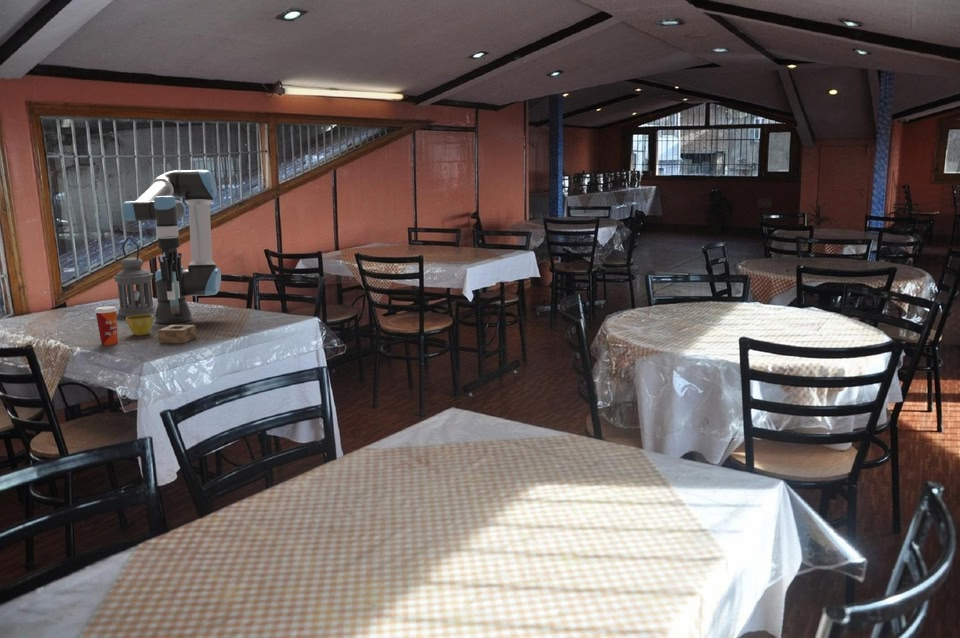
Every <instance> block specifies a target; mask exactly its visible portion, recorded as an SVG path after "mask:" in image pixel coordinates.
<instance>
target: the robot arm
mask: <svg viewBox="0 0 960 638" xmlns="http://www.w3.org/2000/svg"><path fill="white" fill-rule="evenodd" d="M217 196H218V188H217V183H216V179H215V176H214V175H213V172H212V171H210V170H209V169H208V170H207V169H187V170H186V169H185V170H184V169H183V170H182V169H180V170H179V169H176V170H171V171H166V172H165V173H162V174H161V175H159V176H156V178H154V179H153V180H152V181H151V182H150V186H149V187H148V188H147V189H146V190H145V191H144V192H143V193H142V194H141V195H140V196H139V197H138V198H137V199H135V200H130V201H129V200H128V201H124V202H123V203H122V209H121V210H122V216H123V218H124V220H125V221H129V222H142V221H143V222H145V221H146V222H149V221H151V222H152V221H155V223H156V224H155V225H156V229H155V230H156V236H157V237H158V238H157V246H158V249H161V256H158V257H157V259H158V262H159V268H160V269H157V271H155V272H154V273H155V289H156V299H157V307H156V312H155V316H154V320H155V321H154V322H155V323H157V324H177V323H184V322H188V321H191V320H192V319H193V313H192V311H191V309H190V307H189V304H188V302H187V297H197V296H204V297H205V296H206V297H207V296H214V295H217V294H218V292H219V290H220V288H221V284H222V271H221V269H220V268H218V267H217V264H216V263H215V261H214V260H213V249H212V246H213V245H212V230H211V228H212V227H211V207H210V206H211V204H212V203H214V198H216V197H217ZM176 198H178V199H179V198H181V199H183V198H184V202H185V203H186V205H187V206H188V219H189V220H188V221H189V239H190V257H191V258H190V259H191V261H190V262H189V263H188V264H187V269H185V267H184V266H183V265H182V252H178V248H180V244H181V243H180V238H179V225H178V220H180V219H183V217H184V216H185V215H186V213H187V208H186V205H185V204H184V202H182V201H181V200H177V199H176ZM172 271H175V272H176V282H177V293H178V303H179V313H178V314H171V308H170V300H175V290H174V283H172Z"/></svg>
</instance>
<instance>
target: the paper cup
mask: <svg viewBox="0 0 960 638" xmlns="http://www.w3.org/2000/svg"><path fill="white" fill-rule="evenodd" d="M117 311H118V309H117V308H116V306H114V305H113V306H112V305H111V306H110V305H109V306H108V305H107V306H100V307H99V306H98V307H96V308H95V311H94V313H95V316H96V321H97V327H98V332H99V338H100V342H101V345H102V346H113V345H117V344H118V343H119V341H118V319H117V318H118V317H117Z"/></svg>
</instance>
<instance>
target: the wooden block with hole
mask: <svg viewBox="0 0 960 638" xmlns="http://www.w3.org/2000/svg"><path fill="white" fill-rule="evenodd" d="M157 334H158V343H159V344H186V343H187V342H189V341H192V340H194V339H196V338H197V329H196V324H170V325H168V326H165V327H163V328H160V329H158V330H157Z"/></svg>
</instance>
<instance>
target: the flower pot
mask: <svg viewBox="0 0 960 638" xmlns="http://www.w3.org/2000/svg"><path fill="white" fill-rule="evenodd" d="M125 321H126V323H127V325H128V328H129V330H130V331H131V332H132V334H133V335H134V336H146V335H149V333H150V331H151V329H152V325H153V322H154V315H152V314H147V315H135V316H125Z"/></svg>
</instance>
